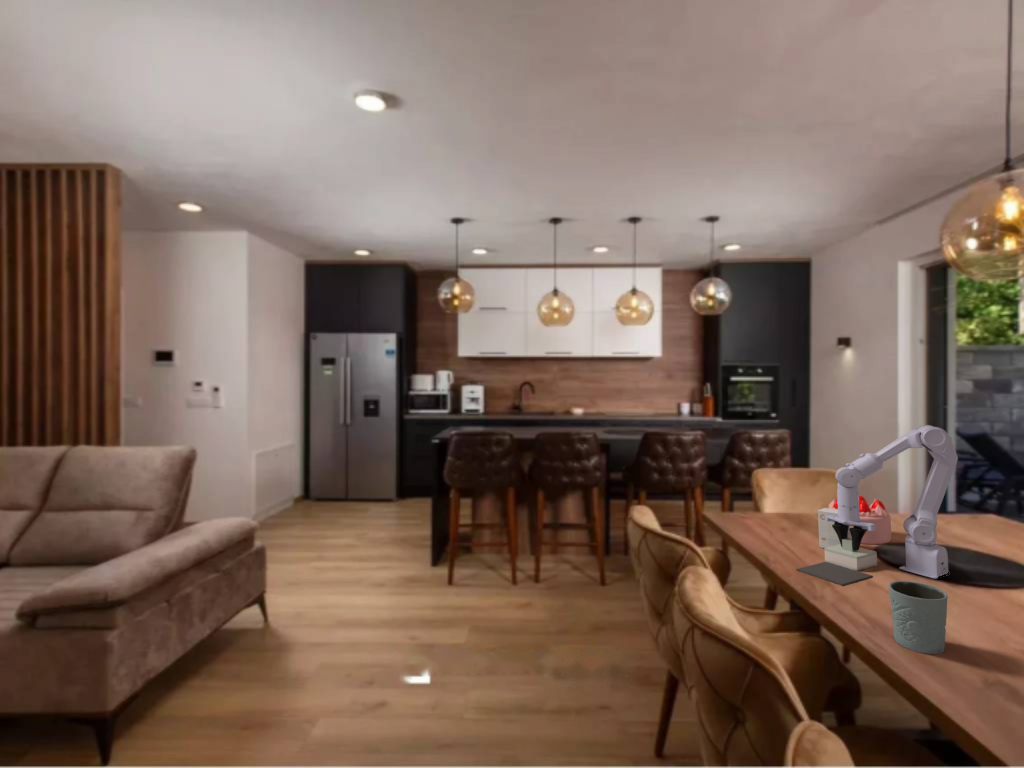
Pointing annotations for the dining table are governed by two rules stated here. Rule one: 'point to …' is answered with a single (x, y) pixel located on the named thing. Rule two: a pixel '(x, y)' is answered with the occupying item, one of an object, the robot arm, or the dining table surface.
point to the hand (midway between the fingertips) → (850, 548)
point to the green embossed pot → (919, 616)
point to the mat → (834, 573)
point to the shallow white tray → (851, 561)
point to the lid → (850, 550)
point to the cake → (872, 520)
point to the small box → (828, 529)
